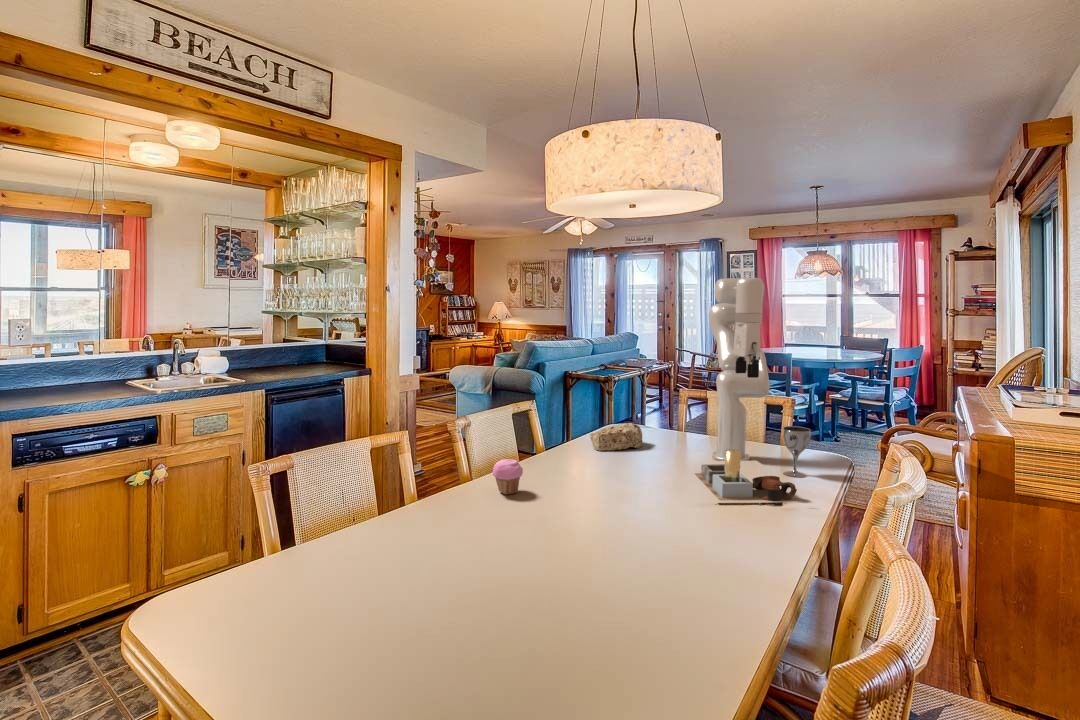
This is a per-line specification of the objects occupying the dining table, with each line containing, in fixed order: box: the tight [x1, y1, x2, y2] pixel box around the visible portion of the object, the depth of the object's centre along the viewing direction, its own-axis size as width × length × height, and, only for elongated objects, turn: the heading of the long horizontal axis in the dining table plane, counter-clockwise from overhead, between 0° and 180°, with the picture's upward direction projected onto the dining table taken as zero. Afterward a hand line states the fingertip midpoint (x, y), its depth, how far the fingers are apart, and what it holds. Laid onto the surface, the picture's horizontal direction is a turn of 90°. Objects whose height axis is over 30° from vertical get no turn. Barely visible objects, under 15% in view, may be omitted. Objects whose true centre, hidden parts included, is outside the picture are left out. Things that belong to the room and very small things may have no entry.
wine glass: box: [782, 425, 811, 479], centre depth 179 cm, size 8×8×15 cm
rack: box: [712, 473, 754, 498], centre depth 158 cm, size 8×8×4 cm
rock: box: [589, 422, 644, 452], centre depth 216 cm, size 21×14×10 cm
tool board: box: [694, 463, 761, 506], centre depth 164 cm, size 24×11×5 cm, turn 1°
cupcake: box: [492, 458, 524, 495], centre depth 163 cm, size 9×9×10 cm
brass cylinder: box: [724, 449, 741, 482], centre depth 158 cm, size 4×4×12 cm
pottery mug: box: [752, 475, 798, 507], centre depth 156 cm, size 12×10×8 cm
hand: (746, 375), depth 170 cm, fingers open, 9 cm apart
